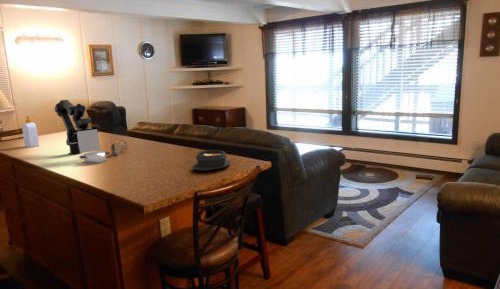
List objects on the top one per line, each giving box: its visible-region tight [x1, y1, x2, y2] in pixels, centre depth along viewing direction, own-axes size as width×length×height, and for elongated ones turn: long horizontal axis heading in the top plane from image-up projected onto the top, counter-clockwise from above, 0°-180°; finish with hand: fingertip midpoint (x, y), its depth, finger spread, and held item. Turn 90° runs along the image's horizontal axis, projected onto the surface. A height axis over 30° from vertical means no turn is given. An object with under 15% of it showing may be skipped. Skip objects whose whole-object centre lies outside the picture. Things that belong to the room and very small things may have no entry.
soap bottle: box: [21, 115, 40, 148], centre depth 280 cm, size 9×7×23 cm
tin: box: [110, 139, 128, 156], centre depth 247 cm, size 15×3×8 cm, turn 168°
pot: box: [79, 150, 110, 165], centre depth 226 cm, size 12×17×5 cm
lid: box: [77, 129, 102, 154], centre depth 231 cm, size 13×12×3 cm
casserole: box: [191, 149, 232, 172], centre depth 205 cm, size 25×19×8 cm
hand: (88, 141), depth 231 cm, fingers closed
